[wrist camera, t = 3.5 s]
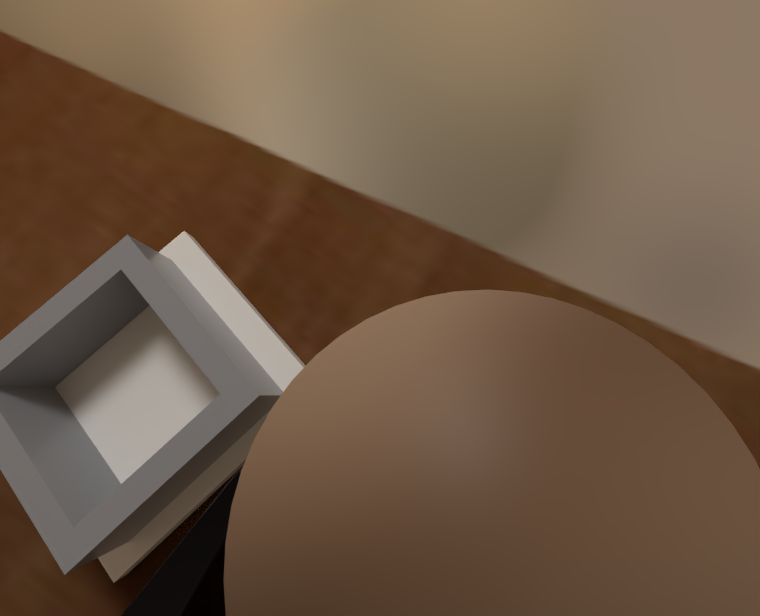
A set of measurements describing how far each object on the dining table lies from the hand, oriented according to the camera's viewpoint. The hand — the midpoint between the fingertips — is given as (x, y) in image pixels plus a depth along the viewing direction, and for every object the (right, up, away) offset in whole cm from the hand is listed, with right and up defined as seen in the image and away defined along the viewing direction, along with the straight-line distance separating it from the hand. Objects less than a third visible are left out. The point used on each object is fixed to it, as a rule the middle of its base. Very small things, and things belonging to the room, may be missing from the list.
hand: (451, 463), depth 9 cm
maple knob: (+1, -2, +8) cm, 8 cm away
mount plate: (-11, 0, +9) cm, 14 cm away
